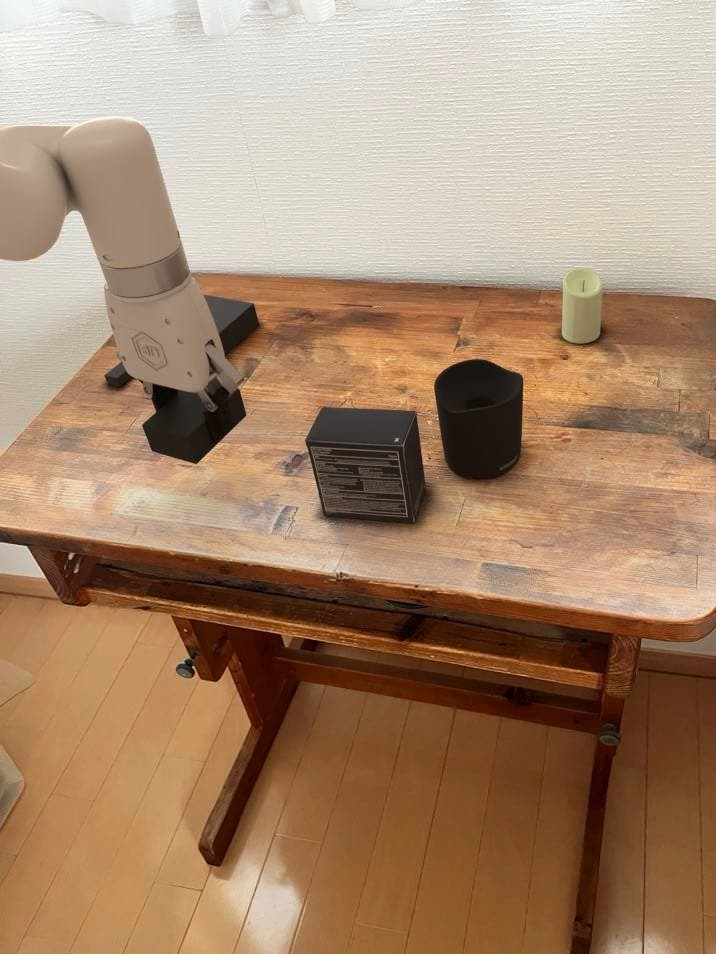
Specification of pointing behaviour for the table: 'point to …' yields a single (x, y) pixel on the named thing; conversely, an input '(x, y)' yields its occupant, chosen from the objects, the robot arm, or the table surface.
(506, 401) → the pen holder
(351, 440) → the small box
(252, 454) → the table surface
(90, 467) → the table surface
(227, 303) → the base pad
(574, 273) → the candle
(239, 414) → the black block
